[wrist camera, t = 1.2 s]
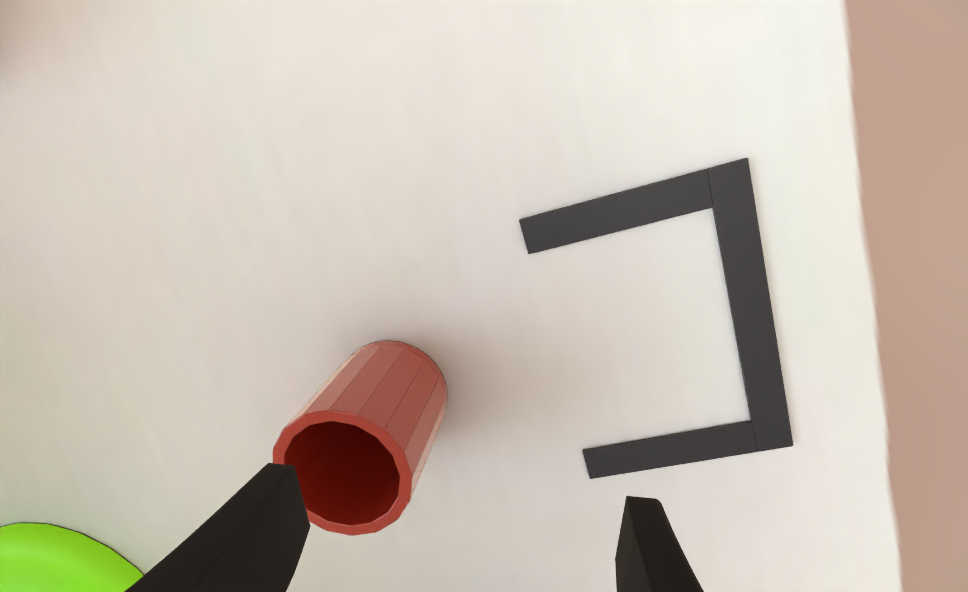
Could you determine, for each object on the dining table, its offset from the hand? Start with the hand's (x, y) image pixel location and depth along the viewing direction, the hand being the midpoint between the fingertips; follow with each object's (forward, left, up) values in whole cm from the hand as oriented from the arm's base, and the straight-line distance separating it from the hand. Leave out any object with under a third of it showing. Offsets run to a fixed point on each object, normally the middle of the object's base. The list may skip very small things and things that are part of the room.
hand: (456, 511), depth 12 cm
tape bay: (+5, -5, -14) cm, 16 cm away
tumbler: (-8, 0, -14) cm, 16 cm away
